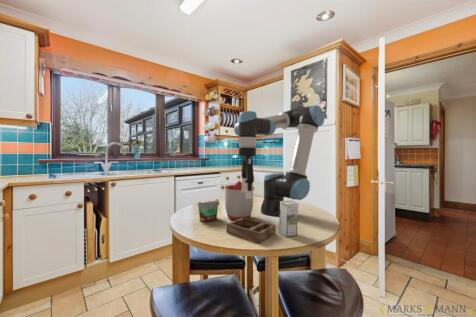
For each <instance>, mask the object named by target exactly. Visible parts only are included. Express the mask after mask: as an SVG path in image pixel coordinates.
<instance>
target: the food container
mask: <svg viewBox="0 0 476 317" xmlns="http://www.w3.org/2000/svg"><path fill="white" fill-rule="evenodd" d="M219 206H220V201H219V199H218V198H216V199H215V200H211V201H210V200H209V201H205V202H201V201H200V202H199V201H198V203H197V207H198V215H199V222H203V223H212V222H215V221H217V220H218V209H219Z"/></svg>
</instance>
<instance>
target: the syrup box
mask: <svg viewBox="0 0 476 317" xmlns="http://www.w3.org/2000/svg"><path fill="white" fill-rule="evenodd" d="M298 217H299V203H298V202H296V201H295V200H293V199H291V200H290V199H289V200H284V201H280V216H279V223H278V224H279V227H278V231H279V233H280V234H281V235H282V236H284V237H285V238H289V237H296V236H298V221H299V220H298Z"/></svg>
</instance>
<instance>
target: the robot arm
mask: <svg viewBox="0 0 476 317" xmlns="http://www.w3.org/2000/svg"><path fill="white" fill-rule="evenodd" d="M324 114H325V113H324V110H323V109H322V108H321V107H320V106H319V105H310V106H304V107H297V108H293V109H290V110H287V111H283V112H280V113H278V114H276V115H271V116H270V115H269V116H266V117H264V116H263V117H258V116H257V112H256V111H254V110H244V111H241V112H240V113H239V117H238V118H239V119H238V122H236V123H235V124H234V126H233V127H234V128H233V131H234V134H235V135H236V136H238V139H237V142H239V143H238V146H239V148H238V156H240V157H242V159H241V160H242V161H241V176H240V177H241V183H242V192H246V199H253V200H254V188H253V187H254V186H253V185H254V182H255V178H254V163H253V162H254V160H253V158H252V157H255V156H257V148H256V147H257V136H271V135H273V134H275V132H276V129H280V128H281V129H288V128H291V129H292V128H293V129H297V130H298V132H297V136H296V141H295V144H294V149H293V154H292V158H291V161H290V162H291V163H290V166H289V170H287V171H286V172H285V173H283V172H281V173H279V172H278V173H267V174H265V175H264V178H263V179H264V180H263V201H262V203H261V205H260V213H261V214H263V215H265V216H274V217H276V216H277V217H280V201H285V198H288V199H291V200H293V201H295V200H297V201H302V200H303V199H305V198H306V197H307V196H308V194H309V192H310V189H311V184H310V183H311V182H310V181H309V179H308V176H307V173H306V172H307V168H308V167H307V166H308V162H309V159H310V152H311V148H312V144H313V139H314V135H315V133H317V132H318V130H319V127H321V126H323V125H324V123H325V115H324Z"/></svg>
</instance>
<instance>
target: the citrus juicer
mask: <svg viewBox="0 0 476 317" xmlns="http://www.w3.org/2000/svg"><path fill="white" fill-rule="evenodd" d="M224 189H225V190H224V195H225V196H224V202H225V203H224V204H225V205H224V206H225V211H226V215H227V218H228V219H229V220H231V221H235V220H238V219H240V218H243V217H244V218H248V219H251V215H252V212H253V208H254V198H253V199H246V192H242V181H239V180H238V181H237V182H236V183H235V184H229V185H228V184H227V185H226V186H224ZM253 189H254V186H253Z"/></svg>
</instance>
